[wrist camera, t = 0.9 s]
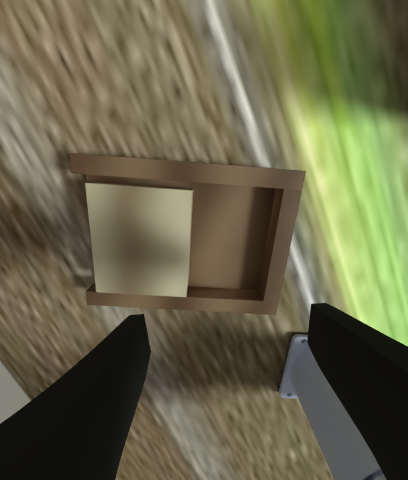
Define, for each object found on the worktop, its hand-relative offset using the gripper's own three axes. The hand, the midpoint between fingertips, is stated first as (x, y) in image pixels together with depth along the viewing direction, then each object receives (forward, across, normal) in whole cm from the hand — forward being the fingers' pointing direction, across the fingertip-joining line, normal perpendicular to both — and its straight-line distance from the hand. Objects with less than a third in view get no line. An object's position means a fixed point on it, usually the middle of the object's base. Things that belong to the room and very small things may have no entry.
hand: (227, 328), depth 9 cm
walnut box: (+9, +2, -2) cm, 9 cm away
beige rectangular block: (+8, +5, -2) cm, 10 cm away
